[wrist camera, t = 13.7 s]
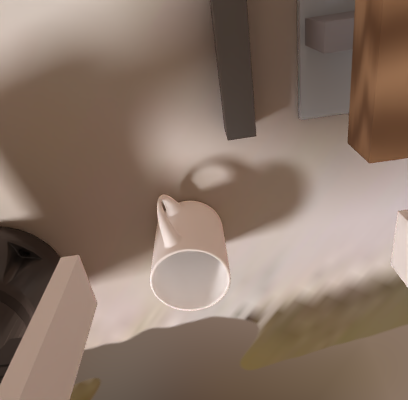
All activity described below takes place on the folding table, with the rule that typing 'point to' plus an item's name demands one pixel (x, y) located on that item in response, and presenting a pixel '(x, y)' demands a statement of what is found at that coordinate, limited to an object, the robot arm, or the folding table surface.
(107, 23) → the folding table surface
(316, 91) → the grey ridged block
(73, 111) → the folding table surface
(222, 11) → the block
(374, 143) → the walnut bar
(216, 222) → the mug
